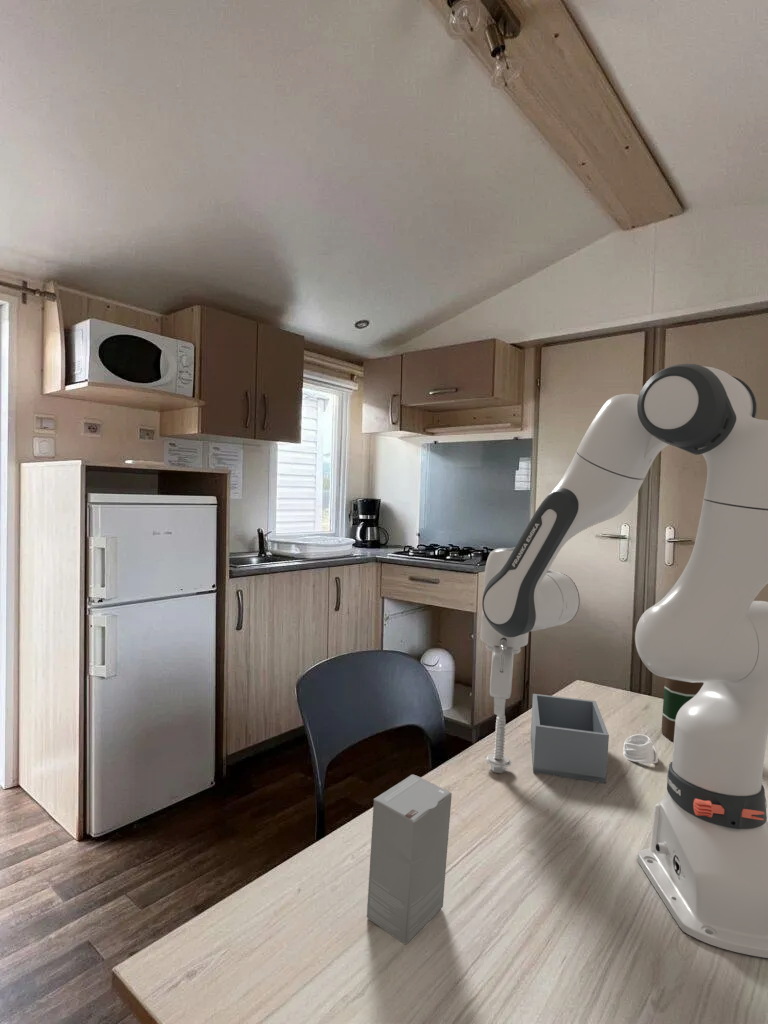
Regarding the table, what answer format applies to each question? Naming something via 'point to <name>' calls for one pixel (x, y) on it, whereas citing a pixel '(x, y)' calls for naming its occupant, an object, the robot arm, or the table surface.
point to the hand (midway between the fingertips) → (499, 703)
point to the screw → (499, 748)
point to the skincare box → (408, 856)
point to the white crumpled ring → (640, 749)
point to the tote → (568, 738)
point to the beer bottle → (676, 702)
